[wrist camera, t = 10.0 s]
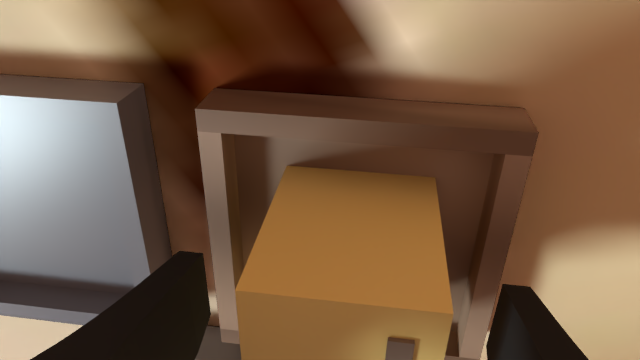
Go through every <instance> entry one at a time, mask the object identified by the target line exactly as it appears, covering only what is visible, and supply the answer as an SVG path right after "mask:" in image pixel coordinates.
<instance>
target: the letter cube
mask: <svg viewBox="0 0 640 360" xmlns="http://www.w3.org/2000/svg"><path fill="white" fill-rule="evenodd" d="M235 295H236V306H237V317H238V328H239V339H240V350H241V360H444V358H445V353H446V348H447V343H448V338H449V334H450V329H451V324H452V319H453V306H452V299H451V292H450V284H449V277H448V269H447V262H446V254H445V247H444V239H443V232H442V224H441V217H440V209H439V202H438V194H437V187H436V179H435V177H423V176H411V175H398V174H385V173H373V172H360V171H348V170H335V169H323V168H310V167H298V166H286V169H285V171H284V173H283V176H282V178H281V181H280V183H279V186H278V188H277V190H276V193H275V195H274V198H273V200H272V202H271V205H270V207H269V210H268V212H267V214H266V217H265V219H264V222H263V224H262V227H261V229H260V231H259V234H258V236H257V239H256V241H255V243H254V246H253V248H252V251H251V253H250V255H249V258H248V260H247V263H246V265H245V268H244V270H243V272H242V275H241V277H240V280H239V282H238V284H237V287H236V289H235Z"/></svg>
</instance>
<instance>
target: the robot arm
mask: <svg viewBox="0 0 640 360" xmlns="http://www.w3.org/2000/svg"><path fill="white" fill-rule="evenodd" d="M210 315H211V313H210V305H209V298H208V290H207V282H206V274H205V266H204V258H203V253H194V252H184V251H179V252H178V253H176V254H175V255H174V256H173V257H171V258H170V259H169V260H168V261H166V262H165V263H164V264H163V265H161V266H160V267H159V268H158V269H156V270H155V271H154V272H153V273H152V274H150V275H149V276H148V277H147V278H145V279H144V280H143V281H142V282H141V283H139V284H138V285H137V286H136V287H134V288H133V289H132V290H130V291H129V292H128V293H127V294H125V295H124V296H123V297H122V298H120V299H119V300H118V301H116V302H115V303H114V304H113V305H111V306H110V307H109V308H107V309H106V310H104V311H103V312H102V313H100V314H99V315H97V316H96V317H95V318H93V319H92V320H91V321H89V322H88V323H86V324H85V325H84V326H82V327H81V328H79V329H78V330H77V331H75V332H74V333H72V334H71V335H69V336H68V337H66V338H65V339H63V340H61V341H60V342H58V343H57V344H55V345H54V346H52V347H50V348H49V349H47V350H45V351H44V352H42V353H40V354H39V355H37V356H36V357H34V358H32V359H30V360H195V358H196V356H197V354H198V352H199V349H200V346H201V343H202V340H203V337H204V334H205V331H206V327H207V324H208V321H209V318H210ZM486 348H487V358H488V360H588V358H587V357H586V356H585V355H584V354H583V352H582V351H581V350H580V349H579V348H578V347H577V345H576V344H575V343H574V342H573V340H572V339H571V338H570V337H569V336H568V334H567V333H566V332H565V331H564V329H563V328H562V327H561V325H560V324H559V323H558V322H557V320H556V319H555V318H554V317H553V315H552V314H551V313H550V311H549V310H548V309H547V308H546V306H545V305H544V304H543V302H542V301H541V300H540V299H539V297H538V296H537V295H536V294H535V292H534V291H533V290H532V289H531V287H526V286H516V285H507V284H503V285H502V289H501V293H500V296H499V300H498V304H497V308H496V312H495V315H494V319H493V323H492V327H491V331H490V334H489V338H488V342H487V346H486Z"/></svg>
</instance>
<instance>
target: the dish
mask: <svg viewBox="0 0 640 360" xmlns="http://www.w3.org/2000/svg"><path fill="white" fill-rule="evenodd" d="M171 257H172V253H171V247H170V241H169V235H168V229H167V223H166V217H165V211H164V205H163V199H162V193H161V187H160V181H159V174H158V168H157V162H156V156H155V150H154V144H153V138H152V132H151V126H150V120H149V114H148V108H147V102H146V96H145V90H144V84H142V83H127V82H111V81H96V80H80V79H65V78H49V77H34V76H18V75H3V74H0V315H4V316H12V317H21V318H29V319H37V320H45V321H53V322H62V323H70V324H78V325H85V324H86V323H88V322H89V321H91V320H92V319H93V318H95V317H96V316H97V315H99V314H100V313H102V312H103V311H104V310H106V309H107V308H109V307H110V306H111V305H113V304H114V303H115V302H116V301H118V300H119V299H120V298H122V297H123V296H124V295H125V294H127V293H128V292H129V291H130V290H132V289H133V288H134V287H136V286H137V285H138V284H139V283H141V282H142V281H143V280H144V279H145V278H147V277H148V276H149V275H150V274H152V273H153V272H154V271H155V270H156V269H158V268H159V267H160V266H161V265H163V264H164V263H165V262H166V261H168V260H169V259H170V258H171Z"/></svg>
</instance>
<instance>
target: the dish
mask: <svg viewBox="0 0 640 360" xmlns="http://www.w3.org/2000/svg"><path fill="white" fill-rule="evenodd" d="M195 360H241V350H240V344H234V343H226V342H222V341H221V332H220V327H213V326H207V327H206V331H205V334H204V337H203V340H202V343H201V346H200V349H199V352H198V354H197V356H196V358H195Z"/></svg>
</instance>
